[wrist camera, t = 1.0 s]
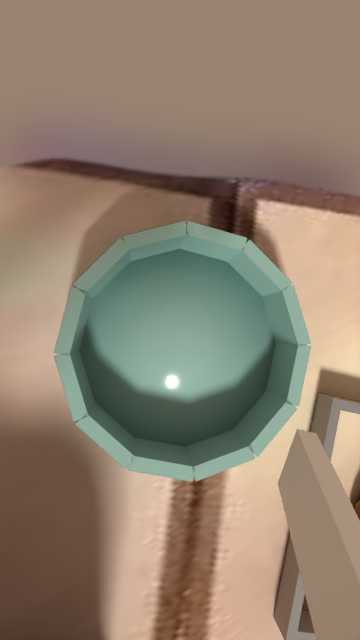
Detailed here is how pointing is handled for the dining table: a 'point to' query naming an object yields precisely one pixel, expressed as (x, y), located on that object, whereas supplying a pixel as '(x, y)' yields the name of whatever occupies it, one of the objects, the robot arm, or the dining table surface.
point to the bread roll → (357, 509)
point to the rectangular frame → (291, 591)
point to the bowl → (182, 351)
